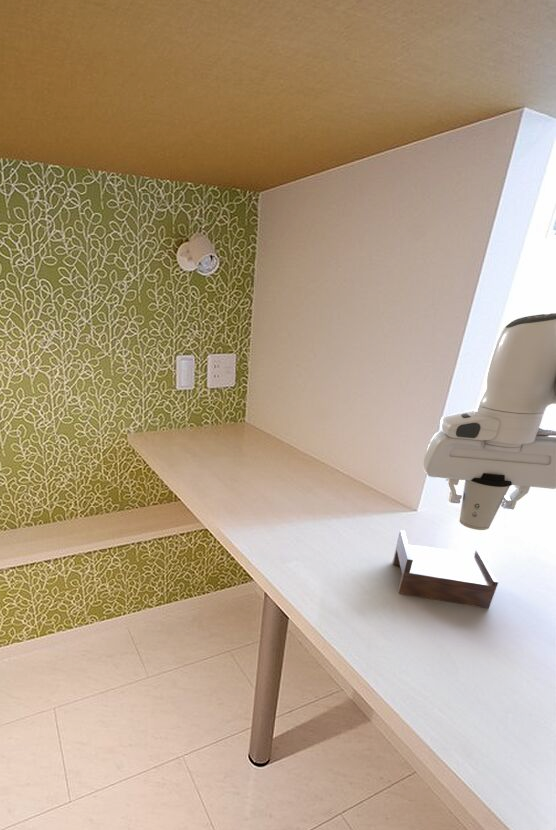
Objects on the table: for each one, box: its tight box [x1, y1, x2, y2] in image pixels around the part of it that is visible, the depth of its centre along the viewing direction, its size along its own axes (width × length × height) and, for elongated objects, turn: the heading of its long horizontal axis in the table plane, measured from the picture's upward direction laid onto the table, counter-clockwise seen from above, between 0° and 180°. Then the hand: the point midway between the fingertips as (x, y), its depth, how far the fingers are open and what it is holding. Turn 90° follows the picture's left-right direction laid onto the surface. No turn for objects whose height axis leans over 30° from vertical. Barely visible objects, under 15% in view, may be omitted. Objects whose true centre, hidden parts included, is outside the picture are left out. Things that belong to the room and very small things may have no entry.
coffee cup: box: [458, 473, 513, 531], centre depth 74 cm, size 7×7×10 cm
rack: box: [392, 530, 499, 609], centre depth 88 cm, size 16×12×8 cm
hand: (479, 504), depth 75 cm, fingers closed on coffee cup, 7 cm apart
